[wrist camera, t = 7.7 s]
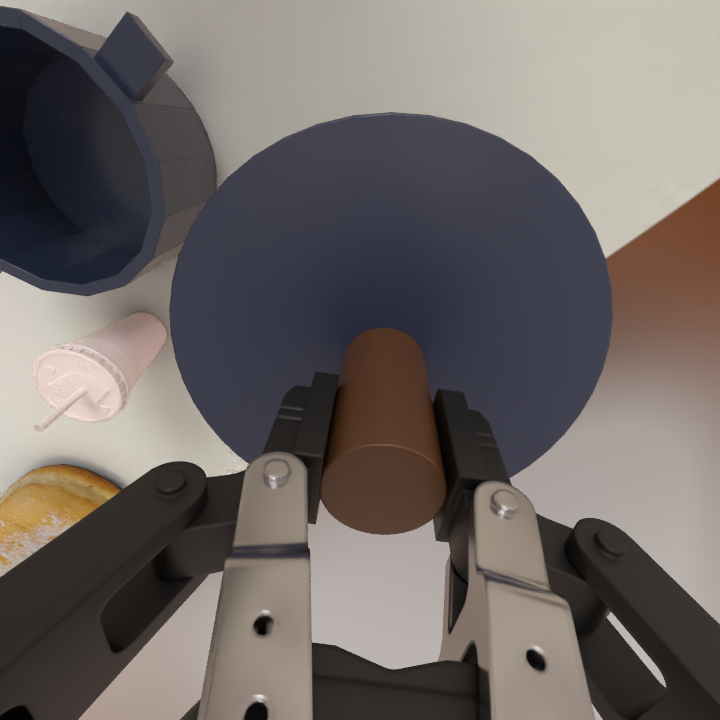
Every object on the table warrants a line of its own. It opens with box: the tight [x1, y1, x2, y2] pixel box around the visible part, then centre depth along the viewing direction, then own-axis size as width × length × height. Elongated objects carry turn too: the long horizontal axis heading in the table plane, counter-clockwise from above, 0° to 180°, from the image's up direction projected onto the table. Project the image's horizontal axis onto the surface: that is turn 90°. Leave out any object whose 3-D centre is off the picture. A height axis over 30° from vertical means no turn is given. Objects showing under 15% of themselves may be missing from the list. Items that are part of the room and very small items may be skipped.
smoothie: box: [32, 312, 167, 432], centre depth 31 cm, size 6×6×14 cm
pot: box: [0, 6, 216, 296], centre depth 26 cm, size 15×20×8 cm
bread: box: [0, 464, 122, 577], centre depth 48 cm, size 13×26×8 cm, turn 139°
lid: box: [170, 112, 613, 535], centre depth 12 cm, size 16×16×7 cm
